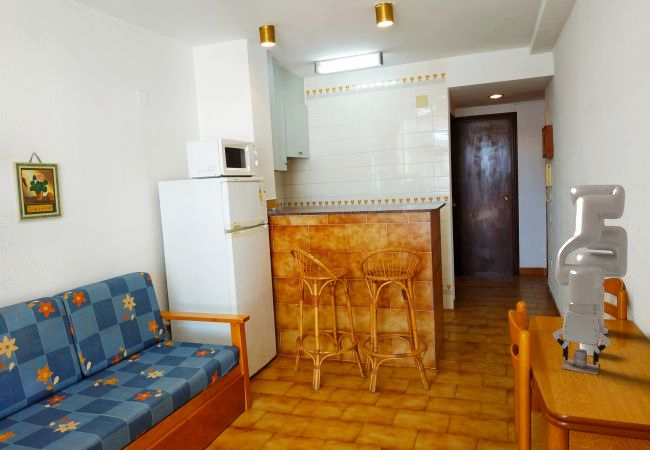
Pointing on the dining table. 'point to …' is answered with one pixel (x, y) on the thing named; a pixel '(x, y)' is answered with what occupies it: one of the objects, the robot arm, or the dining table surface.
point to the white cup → (589, 348)
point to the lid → (580, 363)
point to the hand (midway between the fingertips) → (580, 361)
